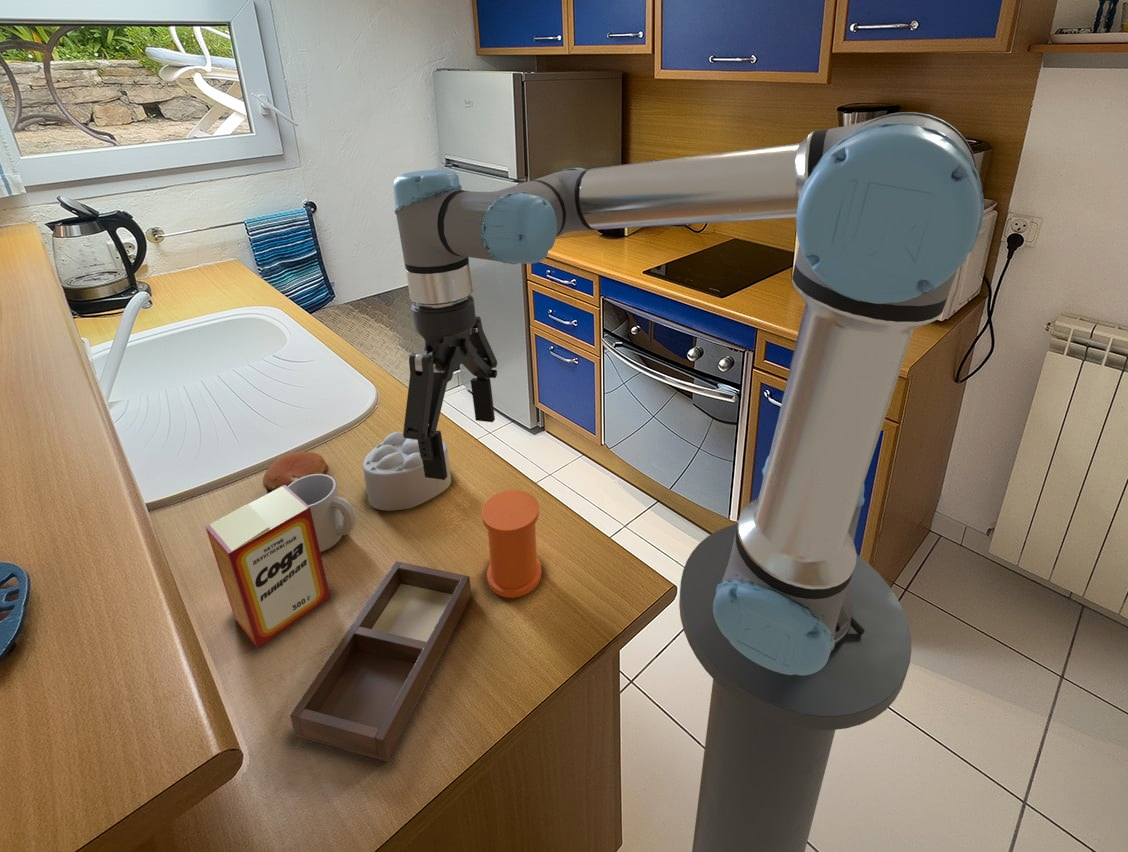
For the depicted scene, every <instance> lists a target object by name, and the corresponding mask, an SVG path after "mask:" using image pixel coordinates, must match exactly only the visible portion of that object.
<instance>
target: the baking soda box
mask: <svg viewBox="0 0 1128 852" xmlns="http://www.w3.org/2000/svg"><path fill="white" fill-rule="evenodd" d="M205 530H206V533H207V537H208V540H209V542H210V546H211V549H212V552H213V555H214V559H215V561H216V565H217V567H218V568H217V569H218V571H219V573H220V577H221V580H222V584H223V587H224V590H225V594H226V596H227V599H228V602H229V606H230V608H231V611H232V615H233V617H234V620H235V622H237V624H238V625H239V626H240V628H241V629H242V630H243V631H244V633H245V635H247V637H248V638H249V639H250V640H251V642H252V643H253V644H254V646H255V647H256V648H257V649H259V648H260V647H262V646H263V645H265V644H266V643H268V642H269V641H270V640H272V639H273V638H275V637H276V636H278V635H279V634H281V632H284V631H285V630H286V629H288V628H289V627H290V626H292V625H293V624H294V623H296V622H298V621H299V620H300V619H302V618H303V617H305V616H306V615H308V614H309V613H310V612H311V611H313V610H314V609H316V608H317V607H319V606H320V605H321V604H323V603H325V602H326V601H327V600H328V599H330V598H331V593H330V589H329V585H328V584H329V583H328V580H327V575H326V572H325V566H324V562H323V559H322V552H320V549H319V545H318V540H317V536H316V531H315V527H314V523H313V518H312V514H311V509H310V507H309V506H308V505H307V504H306V503H305V502H304V501H303V500H302V499H300V498H299V497H298V496H297V495H296V494H295V493H294V492H293V491H291V490H290V489H289V488H288V487H287V486H286V485H283V486H281V487H280V488H278V489H276V490H274V491H272V492H270V493H268V494H267V493H266V494H265V495H263V496H260V497H259V498H257V499H255V500H253V501H251V502H249V503H246V504H244V505H243V506H241V507H240V506H239V508H237V509H235V510H232V511H230V512H229V513H228V514H226V515H224V516H222V517H220V518H219V519H216V520H215V521H213V522H211V523H209V524H207V525H206V526H205Z"/></svg>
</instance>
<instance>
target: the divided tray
mask: <svg viewBox="0 0 1128 852" xmlns="http://www.w3.org/2000/svg"><path fill="white" fill-rule="evenodd" d="M471 598H472V587H471V577H470V576H469V575H465V574H461V573H457V572H456V573H455V572H451V571H446V570H442V569H441V570H440V569H436V568H432V567H427V566H421V565H418V564H417V565H416V564H412V563H406V562H402V561H397V560H396V561H394V563H393V564H392V566H391V567H390V569H389V570H388V571H387V572H386V574H385V576H384V577H383V579H382V580H381V581H380V583H379V585H378V586H377V588H376V589H375V590H374V592H373V593H372V594H371V596H370V598H369V600H368V601H367V602H366V603H365V605H364V607H363V608H362V610H361V611H360V613H359V614H358V616H357V617H356V618H355V620H354V621H353V623H352V624H351V626H350V627H349V628H348V629H347V631H346V633H345V634H344V636H343V637H342V639H341V640H340V642H339V643H338V645H337V646H336V647H335V649H334V651H332V653H331V655H330V656H329V658H328V659H327V661H326V662H325V663H324V665H323V667H322V668H321V669H320V671H319V672H318V674H317V675H316V676H315V678H314V680H313V681H312V683H311V684H310V685H309V687H308V688H307V689H306V691H305V693H304V694H303V696H302V697H301V698H300V700H299V702H298V703H297V705H296V706H295V707H294V709H293V710H292V712H291V713H290V715H289V717H290V721H291V724H292V727H293V730H294V735H295V737H296V738H299V739H303V740H306V741H310V742H313V743H318V744H321V745H325V746H328V747H331V748H335V749H339V750H342V751H346V752H350V753H353V754H357V755H360V756H365V757H367V758H370V759H371V758H372V759H375V760H378V761H383V762H385V763H388V761H389V760H390V758H391V756H392V754H393V752H394V750H395V748H396V746H397V744H398V742H399V740H400V738H401V737H402V734H403V732H404V730H405V728H406V726H407V724H408V722H409V720H410V718H411V716H412V714H413V712H414V711H415V708H416V706H417V704H418V702H419V700H420V699H421V696H422V695H423V692H424V691H425V688H426V686H427V684H428V682H429V681H430V678H432V677H431V676H432V675H433V673H434V671H435V669H436V667H437V665H438V663H439V660H441V657H442V655H443V653H444V650H445V649H446V647H447V645H448V643H449V641H450V639H451V637H452V635H453V633H454V631H455V628H456V627H457V625H458V623H459V621H460V620H461V617H462V615H463V614H464V612H465V609H466V607H467V605H468V603H469V601H470V599H471Z"/></svg>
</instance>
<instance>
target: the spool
mask: <svg viewBox="0 0 1128 852" xmlns="http://www.w3.org/2000/svg"><path fill="white" fill-rule="evenodd" d="M539 517H540V505H539V502H538V500H537V498H536V497H535V496H534V495H533V494H532V493H529V492H528V491H525V490H520V489H507V490H503V491H500V492H498V493H495V494H493V495H492V496H490V497H489V498H488V499H487V500H486V501H485V502H484V504H483V506H482V509H481V522H482V524H483V526H484V528H485V529H486V530H487V539H488V549H489V550H488V551H489V561H490V562H489V564H488V566H487V570H486V576H487V577H486V579H487V584H488V587H489V588H490V590H491V591H492V592H493V593H494V594H495V595H497V596H499V597H503V598H506V599H516V598H521V597H523V596H526V595H528V594H530V593H531V592H532V591H534V590H535V589H536V588H537V586H538V585H539V583H540V581H541V578H542V563H541V561H540V559H539V558H538V556H537V533H536V523H537V521H539Z"/></svg>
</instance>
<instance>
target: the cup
mask: <svg viewBox="0 0 1128 852" xmlns="http://www.w3.org/2000/svg"><path fill="white" fill-rule="evenodd" d="M287 487H288V488H289V489H290V490H291V491H293V492H294V493H295V494H296V495H297V496H298V497H299V498H300V499H302V500H303V501H304V502H305V503H306V504H307V505H308V506H309V507H310V509H311V514H312V518H313V523H314V527H315V531H316V536H317V540H318V545H319V549H320V553H322V552H325V551H327V550H329V549H331V548H333V546H335V545H336V544H337V543H338V542H339V541H340V540H341V538H342V536H345V535H348V534H350V532H352V531H353V530H354V528H355V526H356V521H357V520H356V519H357V516H356V512H355V511H356V510H354V507H353V505H352V504H351V502H349V501H348V500H347V499H346V498H344V497H342V496H339V494H338V488H337V484H336V479H334V477H332V476H330V475H329V474H328V475H325V474H313V475H308V476H305V477H302V478H300V479H298V480H296V481H294V482H292V483H291V484H290V485H289V486H287Z"/></svg>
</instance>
